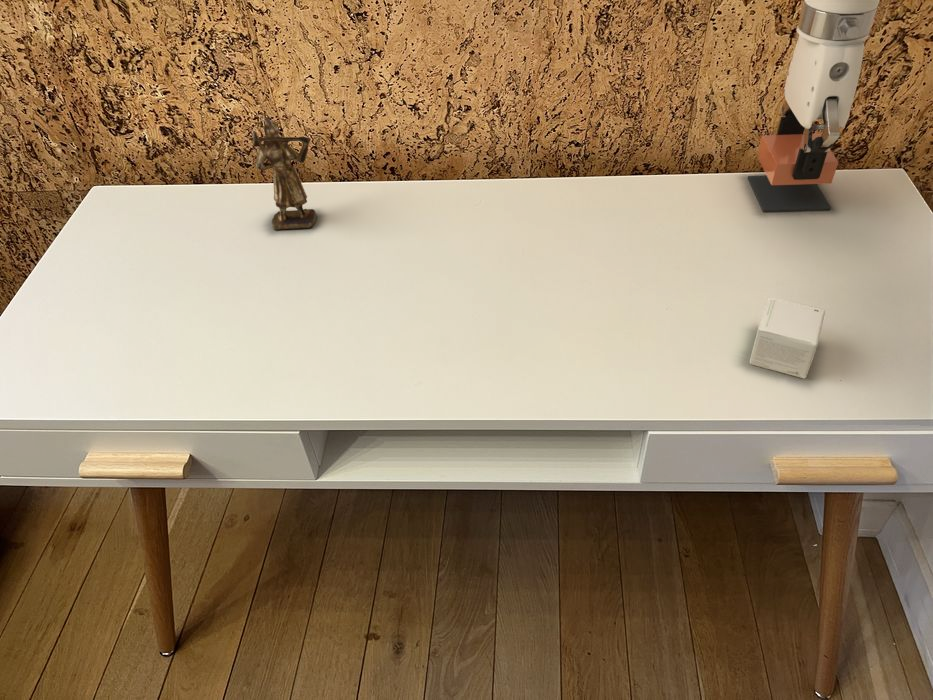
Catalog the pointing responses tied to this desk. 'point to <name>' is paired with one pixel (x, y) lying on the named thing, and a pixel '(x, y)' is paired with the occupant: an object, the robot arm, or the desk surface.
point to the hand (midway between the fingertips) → (795, 160)
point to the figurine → (284, 176)
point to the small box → (787, 337)
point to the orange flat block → (790, 159)
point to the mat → (787, 196)
